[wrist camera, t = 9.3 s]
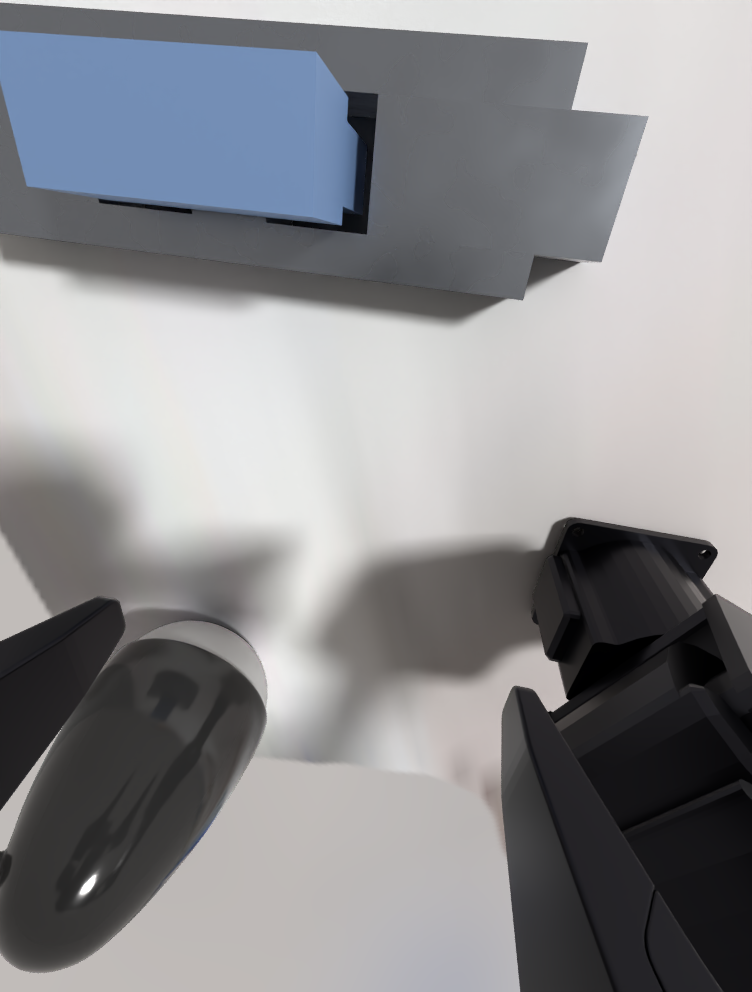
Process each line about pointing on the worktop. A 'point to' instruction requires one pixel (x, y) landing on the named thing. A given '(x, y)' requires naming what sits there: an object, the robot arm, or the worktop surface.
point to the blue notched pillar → (183, 125)
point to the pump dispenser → (128, 790)
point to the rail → (383, 158)
